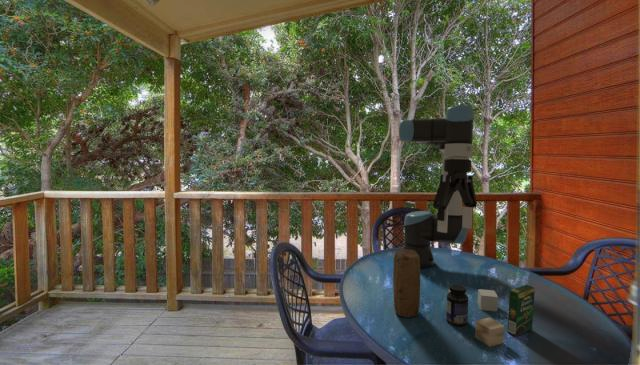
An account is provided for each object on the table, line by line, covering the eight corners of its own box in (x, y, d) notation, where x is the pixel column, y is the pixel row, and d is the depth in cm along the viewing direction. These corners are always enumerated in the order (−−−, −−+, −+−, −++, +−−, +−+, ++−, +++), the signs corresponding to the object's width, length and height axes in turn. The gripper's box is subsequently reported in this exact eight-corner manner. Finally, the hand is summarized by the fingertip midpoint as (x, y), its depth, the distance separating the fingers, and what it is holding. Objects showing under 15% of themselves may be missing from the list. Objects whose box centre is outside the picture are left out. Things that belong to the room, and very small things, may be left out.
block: (420, 319, 106) (422, 257, 104) (396, 318, 107) (397, 256, 105) (413, 303, 117) (414, 246, 115) (391, 302, 118) (392, 246, 115)
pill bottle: (470, 321, 105) (471, 286, 104) (463, 329, 101) (464, 293, 100) (450, 314, 110) (451, 281, 108) (442, 321, 105) (443, 287, 104)
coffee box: (515, 337, 96) (518, 293, 95) (506, 332, 99) (508, 289, 97) (533, 330, 100) (536, 287, 99) (523, 325, 103) (526, 283, 101)
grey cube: (477, 303, 117) (478, 289, 117) (493, 304, 116) (494, 290, 116) (480, 309, 113) (481, 295, 112) (497, 311, 111) (498, 297, 111)
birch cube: (475, 337, 97) (475, 320, 96) (488, 333, 99) (489, 317, 98) (489, 347, 92) (490, 329, 92) (503, 343, 94) (504, 326, 93)
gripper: (445, 157, 91) (442, 236, 92) (490, 160, 107) (487, 228, 107) (421, 157, 97) (419, 231, 98) (467, 160, 112) (464, 224, 113)
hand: (455, 230), depth 103 cm, fingers open, 13 cm apart
